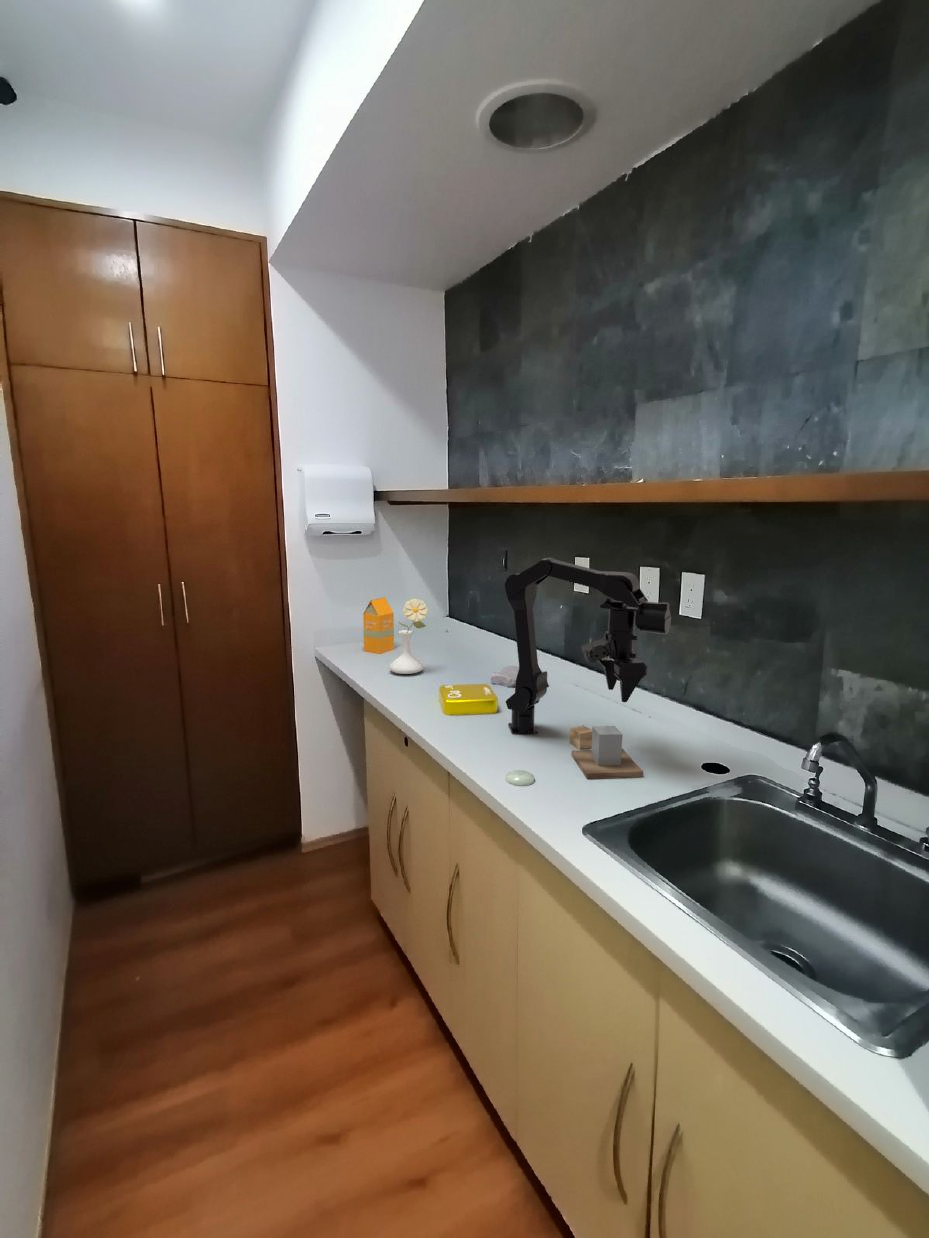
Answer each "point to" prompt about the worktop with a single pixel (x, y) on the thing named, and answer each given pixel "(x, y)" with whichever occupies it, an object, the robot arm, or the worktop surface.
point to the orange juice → (378, 627)
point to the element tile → (467, 699)
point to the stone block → (505, 676)
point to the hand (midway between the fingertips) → (617, 695)
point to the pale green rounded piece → (519, 778)
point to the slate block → (606, 745)
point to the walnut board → (608, 771)
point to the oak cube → (581, 737)
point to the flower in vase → (406, 661)
